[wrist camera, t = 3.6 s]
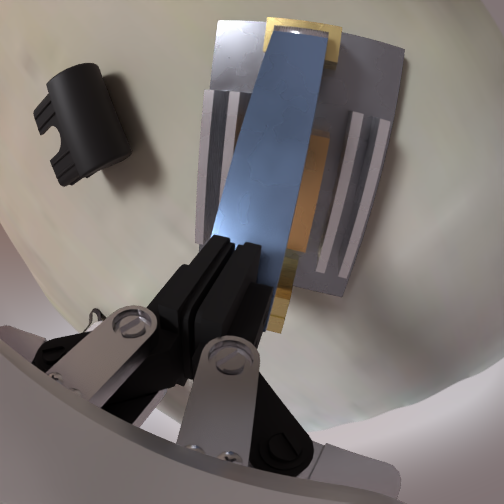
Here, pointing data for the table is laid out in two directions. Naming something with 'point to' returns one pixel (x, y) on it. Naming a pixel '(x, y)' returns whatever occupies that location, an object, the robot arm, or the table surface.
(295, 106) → the strap
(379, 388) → the table surface
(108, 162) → the end cap
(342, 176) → the block
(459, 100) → the table surface
